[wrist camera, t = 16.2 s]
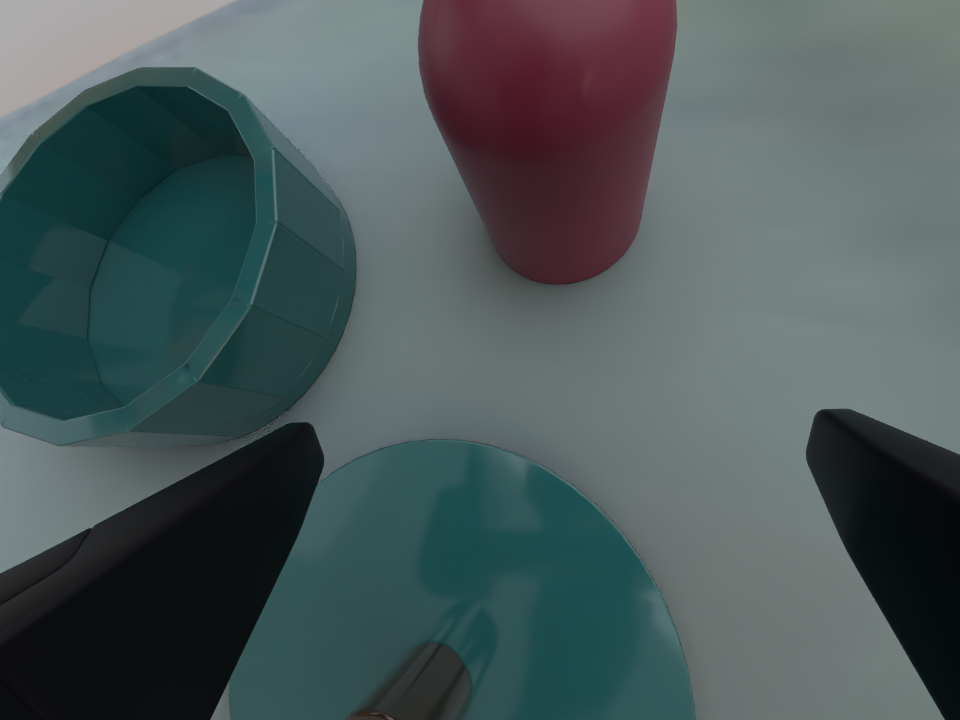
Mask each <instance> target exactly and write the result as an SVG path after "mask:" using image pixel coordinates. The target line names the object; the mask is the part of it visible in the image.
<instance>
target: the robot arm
mask: <svg viewBox="0 0 960 720" xmlns="http://www.w3.org/2000/svg"><path fill="white" fill-rule="evenodd" d="M806 458H807V463H808V466H809V468H810V470H811V472H812V475H813V477H814V479H815V482H816V484H817V486H818V488H819V491H820V493H821V495H822V497H823V500H824V502H825V504H826V506H827V509H828V511H829V513H830V515H831V518H832V520H833V522H834V524H835V527H836V529H837V531H838V533H839V536H840V538H841V540H842V542H843V544H844V546H845V548H846V550H847V552H848V554H849V556H850V557H851V559H852V561H853V563H854V565H855V566H856V568H857V570H858V572H859V573H860V575H861V577H862V578H863V580H864V582H865V584H866V585H867V587H868V589H869V590H870V592H871V594H872V596H873V597H874V599H875V601H876V602H877V604H878V606H879V608H880V609H881V611H882V613H883V614H884V616H885V618H886V620H887V621H888V623H889V625H890V626H891V628H892V630H893V632H894V633H895V635H896V637H897V638H898V640H899V642H900V644H901V645H902V647H903V649H904V650H905V652H906V654H907V656H908V657H909V659H910V661H911V662H912V664H913V666H914V668H915V669H916V671H917V673H918V674H919V676H920V678H921V680H922V681H923V683H924V685H925V686H926V688H927V690H928V692H929V693H930V695H931V697H932V698H933V700H934V702H935V704H936V705H937V707H938V709H939V710H940V712H941V714H942V716H943V717H944V719H945V720H960V455H959V454H957V453H954V452H952V451H949V450H947V449H945V448H942V447H940V446H937V445H935V444H933V443H930V442H928V441H925V440H923V439H921V438H918V437H916V436H913V435H911V434H909V433H906V432H904V431H901V430H899V429H897V428H894V427H892V426H889V425H887V424H885V423H882V422H880V421H877V420H875V419H873V418H870V417H868V416H865V415H863V414H861V413H858V412H856V411H853V410H851V409H823V410H820V411H818V412H817V413H816V415H815V417H814V420H813V424H812V428H811V432H810V436H809V441H808V445H807V449H806ZM323 466H324V455H323V451H322V449H321V446H320V443H319V441H318V438H317V435H316V432H315V430H314V427H313V426H312V425H311V424H310V423H307V422H304V423H289V424H287V425H285V426H283V427H281V428H279V429H277V430H275V431H273V432H271V433H269V434H268V435H266V436H264V437H262V438H260V439H258V440H256V441H254V442H252V443H250V444H248V445H247V446H245V447H243V448H241V449H239V450H237V451H235V452H233V453H231V454H229V455H228V456H226V457H224V458H222V459H220V460H218V461H216V462H214V463H212V464H210V465H209V466H207V467H205V468H203V469H201V470H199V471H197V472H195V473H193V474H191V475H190V476H188V477H186V478H184V479H182V480H180V481H178V482H176V483H174V484H172V485H170V486H169V487H167V488H165V489H163V490H161V491H159V492H157V493H155V494H153V495H151V496H150V497H148V498H146V499H144V500H142V501H140V502H138V503H136V504H134V505H132V506H131V507H129V508H127V509H125V510H123V511H121V512H119V513H117V514H115V515H113V516H111V517H110V518H108V519H106V520H104V521H102V522H100V523H98V524H96V525H95V526H94V527H93V528H92V529H91V528H89V529H87V530H85V531H83V532H81V533H79V534H77V535H75V536H73V537H71V538H69V539H68V540H66V541H64V542H62V543H60V544H58V545H56V546H54V547H52V548H50V549H48V550H46V551H44V552H42V553H40V554H38V555H36V556H34V557H33V558H31V559H29V560H27V561H25V562H23V563H21V564H19V565H17V566H15V567H13V568H11V569H9V570H7V571H5V572H2V573H0V720H210V719H211V717H212V715H213V713H214V711H215V709H216V706H217V704H218V702H219V700H220V698H221V696H222V694H223V692H224V690H225V688H226V686H227V684H228V681H229V679H230V677H231V675H232V673H233V671H234V669H235V667H236V665H237V663H238V661H239V659H240V656H241V654H242V652H243V650H244V648H245V646H246V644H247V642H248V640H249V638H250V636H251V633H252V631H253V629H254V627H255V625H256V623H257V621H258V619H259V617H260V615H261V613H262V611H263V608H264V606H265V604H266V602H267V600H268V598H269V596H270V594H271V592H272V590H273V588H274V586H275V583H276V581H277V579H278V577H279V575H280V573H281V571H282V569H283V567H284V565H285V563H286V561H287V558H288V556H289V554H290V552H291V550H292V548H293V546H294V544H295V541H296V539H297V537H298V535H299V532H300V530H301V527H302V525H303V522H304V519H305V516H306V514H307V511H308V508H309V505H310V503H311V500H312V497H313V494H314V491H315V489H316V486H317V483H318V480H319V478H320V475H321V472H322V469H323Z"/></svg>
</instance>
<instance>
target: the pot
mask: <svg viewBox="0 0 960 720" xmlns="http://www.w3.org/2000/svg"><path fill="white" fill-rule="evenodd" d="M355 278H356V253H355V246H354V240H353V234H352V230H351V227H350V224H349V221H348V218H347V215H346V213H345V211H344V209H343V207H342V205H341V203H340V201H339V199H338V198H337V196H336V195H335V194H334V192H333V191H332V189H331V188H330V187H329V185H328V184H327V183H326V182H325V181H324V180H323V179H322V178H321V177H320V176H319V174H318V173H317V171H316V169H315V167H314V166H313V165H312V164H311V163H310V162H309V161H308V160H307V159H306V157H305V156H304V155H303V154H302V153H301V152H300V151H299V150H298V149H297V148H296V147H295V146H294V145H293V144H292V143H291V142H290V141H289V140H288V139H287V138H286V137H285V136H284V135H283V134H282V133H281V132H280V131H279V130H278V129H277V128H276V127H275V126H274V124H273V123H272V122H271V121H270V120H269V119H268V118H267V117H266V116H265V115H264V114H263V113H262V112H261V111H260V110H259V109H258V108H257V107H256V106H255V105H254V104H253V103H252V102H251V101H250V100H249V99H248V98H247V97H246V96H245V95H244V94H243V93H241V92H239V91H237V90H236V89H234V88H232V87H230V86H228V85H227V84H225V83H223V82H221V81H220V80H218V79H216V78H214V77H212V76H211V75H209V74H207V73H205V72H203V71H202V70H200V69H198V68H196V67H141V68H137V69H135V70H132V71H130V72H127V73H125V74H123V75H120V76H118V77H115V78H113V79H110V80H108V81H106V82H103V83H101V84H98V85H96V86H94V87H91V88H89V89H86V90H84V91H83V92H82V93H81V94H79V95H78V96H77V97H76V98H74V99H73V100H72V101H71V102H70V103H68V104H67V105H66V106H65V107H63V108H62V109H61V110H60V111H59V112H57V113H56V114H55V115H54V116H52V117H51V118H50V119H49V120H48V121H46V122H45V123H44V124H43V125H42V126H40V127H39V128H38V129H37V130H35V131H34V132H33V134H31V135H30V136H29V137H28V139H27V140H26V141H25V143H24V144H23V146H22V147H21V148H20V150H19V151H18V152H17V154H16V155H15V156H14V158H13V159H12V160H11V162H10V163H9V164H8V166H7V167H6V169H5V170H4V171H3V173H2V174H1V175H0V424H1V425H2V426H3V428H6V429H9V430H12V431H15V432H18V433H21V434H24V435H27V436H30V437H33V438H36V439H39V440H42V441H45V442H48V443H51V444H54V445H57V446H80V447H150V448H174V447H179V446H184V445H207V444H215V443H221V442H225V441H229V440H232V439H236V438H239V437H241V436H244V435H246V434H248V433H251V432H253V431H255V430H257V429H259V428H261V427H262V426H264V425H266V424H267V423H269V422H271V421H272V420H274V419H275V418H277V417H278V416H279V415H280V414H282V413H283V412H284V411H286V410H287V409H288V408H289V407H291V406H292V405H293V404H294V403H295V402H296V401H297V400H298V399H299V398H300V397H301V396H302V395H303V394H304V393H305V392H306V391H307V390H308V389H309V387H310V386H311V385H312V384H313V382H314V381H315V380H316V378H317V377H318V376H319V375H320V373H321V372H322V370H323V369H324V367H325V366H326V364H327V362H328V361H329V359H330V358H331V356H332V354H333V352H334V350H335V348H336V346H337V344H338V342H339V340H340V338H341V336H342V334H343V331H344V328H345V325H346V322H347V319H348V316H349V313H350V309H351V304H352V300H353V295H354V289H355Z"/></svg>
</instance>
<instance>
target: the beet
mask: <svg viewBox="0 0 960 720" xmlns="http://www.w3.org/2000/svg"><path fill="white" fill-rule="evenodd" d="M676 32H677V10H676V0H424V1H423V5H422V10H421V14H420V24H419V36H418V53H419V68H420V75H421V79H422V84H423V89H424V93H425V97H426V100H427V102H428V105H429V108H430V110H431V113H432V115H433V118H434V120H435V122H436V124H437V126H438V128H439V131H440V133H441V135H442V137H443V139H444V141H445V143H446V145H447V147H448V150H449V152H450V154H451V156H452V158H453V160H454V162H455V164H456V166H457V168H458V171H459V173H460V175H461V177H462V179H463V181H464V183H465V185H466V187H467V190H468V192H469V194H470V196H471V198H472V200H473V202H474V204H475V206H476V208H477V211H478V213H479V215H480V217H481V219H482V221H483V223H484V225H485V227H486V230H487V232H488V234H489V236H490V238H491V240H492V242H493V244H494V246H495V248H496V250H497V252H498V254H499V255H500V257H501V258H502V259H503V260H504V262H505V263H506V264H507V265H508V266H509V267H511V268H512V269H513V270H514V271H516V272H517V273H519V274H520V275H522V276H524V277H526V278H528V279H531V280H534V281H537V282H542V283H547V284H568V283H574V282H579V281H582V280H586V279H589V278H591V277H593V276H595V275H598V274H599V273H601V272H603V271H605V270H606V269H608V268H609V267H610V266H612V265H613V264H614V263H615V262H616V261H617V260H618V259H619V258H621V257H622V256H623V254H624V253H625V252H626V250H627V249H628V248H629V246H630V245H631V243H632V241H633V240H634V238H635V235H636V233H637V231H638V228H639V224H640V220H641V215H642V210H643V205H644V200H645V195H646V190H647V185H648V180H649V176H650V171H651V166H652V161H653V156H654V151H655V146H656V141H657V136H658V131H659V126H660V121H661V116H662V111H663V107H664V102H665V97H666V92H667V87H668V82H669V77H670V72H671V67H672V62H673V57H674V49H675V41H676Z"/></svg>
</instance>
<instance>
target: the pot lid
mask: <svg viewBox="0 0 960 720" xmlns="http://www.w3.org/2000/svg"><path fill="white" fill-rule="evenodd" d="M229 704H230V719H231V720H695V706H694V700H693V695H692V689H691V683H690V677H689V672H688V667H687V663H686V660H685V656H684V653H683V650H682V646H681V643H680V640H679V636H678V633H677V630H676V627H675V625H674V622H673V620H672V618H671V615H670V613H669V611H668V609H667V606H666V604H665V602H664V599H663V597H662V595H661V592H660V590H659V588H658V587H657V585H656V583H655V581H654V580H653V578H652V576H651V574H650V573H649V571H648V569H647V567H646V566H645V564H644V562H643V561H642V559H641V557H640V556H639V554H638V553H637V552H636V550H635V549H634V548H633V546H632V545H631V544H630V542H629V541H628V540H627V538H626V537H625V535H624V534H623V533H622V531H621V530H620V529H619V528H618V527H617V525H616V524H615V523H614V522H613V521H612V520H611V519H610V518H609V517H608V516H607V515H606V514H605V513H604V512H603V511H602V510H601V509H600V508H599V506H598V505H597V504H596V503H594V502H593V501H592V500H591V499H590V498H588V497H587V496H586V495H585V494H584V493H582V492H581V491H580V490H579V489H578V488H576V487H575V486H574V485H573V484H571V483H570V482H569V481H567V480H565V479H564V478H562V477H561V476H559V475H558V474H556V473H554V472H553V471H551V470H550V469H548V468H547V467H545V466H543V465H541V464H539V463H537V462H535V461H532V460H530V459H528V458H526V457H524V456H522V455H520V454H517V453H514V452H511V451H508V450H505V449H502V448H499V447H495V446H492V445H488V444H482V443H476V442H470V441H465V440H447V439H429V440H420V441H411V442H404V443H400V444H396V445H392V446H389V447H385V448H381V449H378V450H376V451H373V452H371V453H369V454H366V455H364V456H361V457H359V458H357V459H355V460H353V461H351V462H350V463H348V464H346V465H344V466H343V467H341V468H339V469H337V470H336V471H334V472H333V473H331V474H330V475H329V476H328V477H326V478H325V479H324V480H322V481H321V482H320V483H318V484H317V486H316V489H315V491H314V494H313V497H312V500H311V503H310V505H309V508H308V511H307V514H306V516H305V519H304V522H303V525H302V527H301V530H300V532H299V535H298V537H297V539H296V541H295V544H294V546H293V548H292V550H291V552H290V554H289V556H288V558H287V561H286V563H285V565H284V567H283V569H282V571H281V573H280V575H279V577H278V579H277V581H276V583H275V586H274V588H273V590H272V592H271V594H270V596H269V598H268V600H267V602H266V604H265V606H264V608H263V611H262V613H261V615H260V617H259V619H258V621H257V623H256V625H255V627H254V629H253V631H252V633H251V636H250V638H249V640H248V642H247V644H246V646H245V648H244V650H243V652H242V654H241V656H240V659H239V661H238V663H237V665H236V667H235V669H234V671H233V673H232V675H231V677H230V683H229Z"/></svg>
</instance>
